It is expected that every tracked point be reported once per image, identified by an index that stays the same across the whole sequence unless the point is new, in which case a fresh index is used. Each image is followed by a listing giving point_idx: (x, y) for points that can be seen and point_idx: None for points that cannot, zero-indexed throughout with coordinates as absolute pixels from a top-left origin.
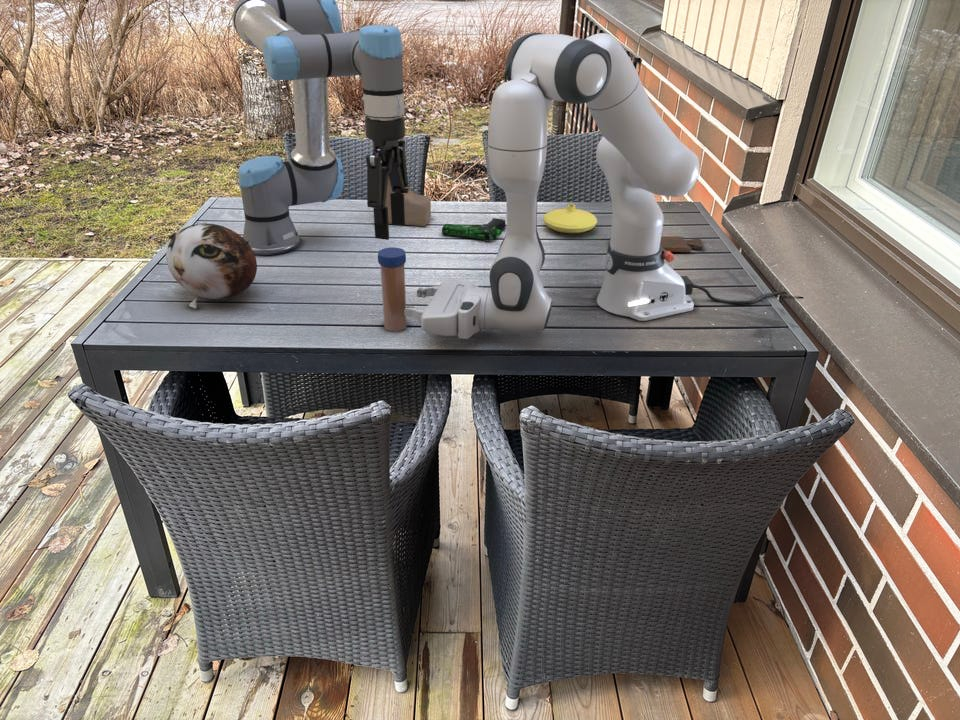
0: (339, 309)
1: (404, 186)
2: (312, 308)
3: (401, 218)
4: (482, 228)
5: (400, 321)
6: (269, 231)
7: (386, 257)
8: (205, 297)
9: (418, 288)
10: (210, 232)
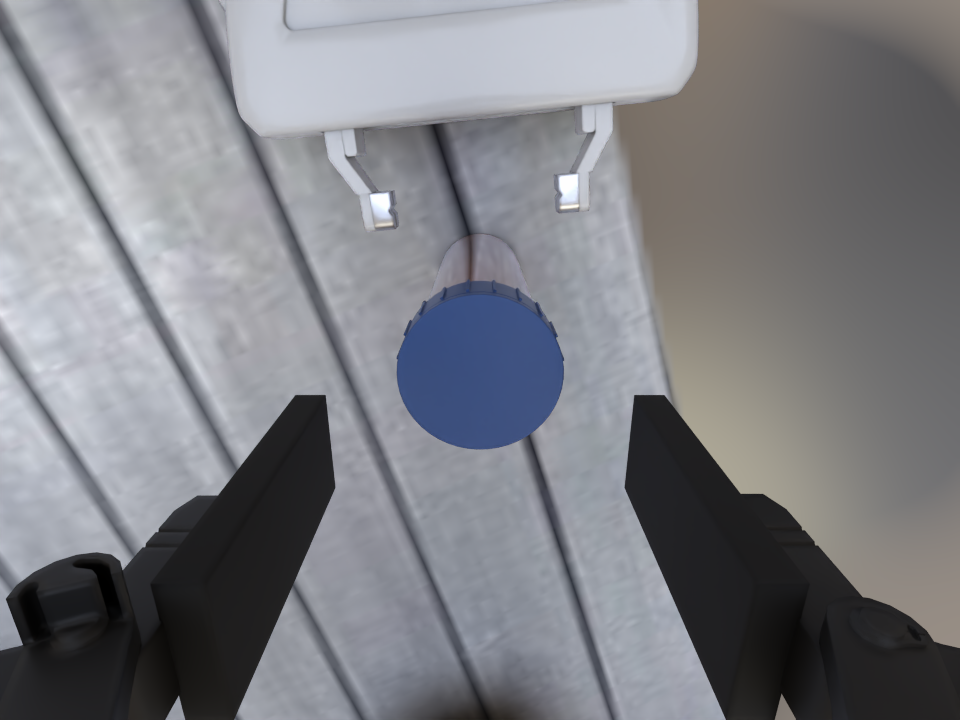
0: (431, 482)
1: (16, 678)
2: (453, 550)
3: (310, 440)
4: None
5: (507, 248)
6: None
7: (562, 375)
8: None
9: (368, 231)
10: None
